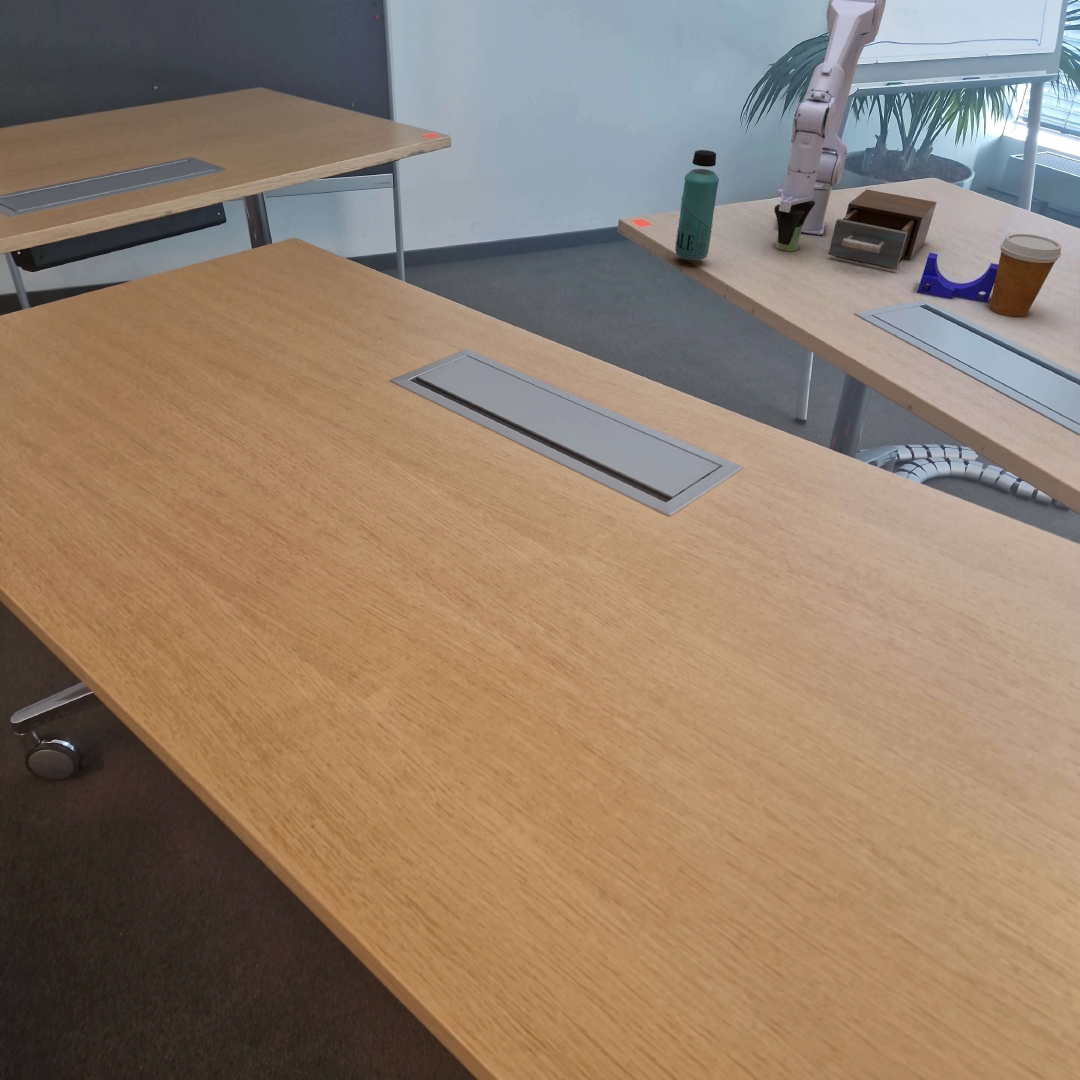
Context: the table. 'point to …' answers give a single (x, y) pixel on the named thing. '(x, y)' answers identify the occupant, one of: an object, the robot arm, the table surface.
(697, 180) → the beverage bottle
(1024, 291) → the disposable coffee cup
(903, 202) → the cabinet
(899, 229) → the drawer
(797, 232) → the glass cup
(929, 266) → the blue cradle bracket
